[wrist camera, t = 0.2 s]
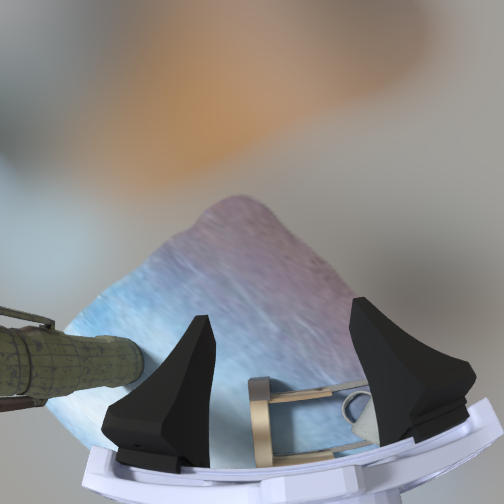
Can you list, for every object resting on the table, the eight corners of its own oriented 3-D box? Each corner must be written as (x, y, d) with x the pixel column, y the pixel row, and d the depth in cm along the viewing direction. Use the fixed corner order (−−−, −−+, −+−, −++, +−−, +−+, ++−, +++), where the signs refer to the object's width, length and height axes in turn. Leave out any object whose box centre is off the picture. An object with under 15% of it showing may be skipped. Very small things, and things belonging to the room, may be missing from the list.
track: (390, 437, 34) (391, 438, 34) (258, 459, 36) (258, 460, 35) (389, 373, 38) (390, 373, 38) (252, 394, 40) (252, 394, 39)
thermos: (104, 385, 42) (-58, 395, 9) (107, 326, 45) (-59, 285, 12) (143, 396, 41) (-28, 435, 8) (146, 333, 44) (-35, 299, 11)
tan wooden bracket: (331, 452, 34) (335, 461, 31) (258, 460, 35) (256, 469, 32) (326, 369, 39) (330, 372, 36) (250, 377, 40) (247, 381, 36)
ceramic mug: (403, 397, 36) (423, 404, 29) (381, 438, 35) (397, 452, 27) (353, 378, 39) (366, 385, 32) (330, 421, 37) (339, 435, 30)
